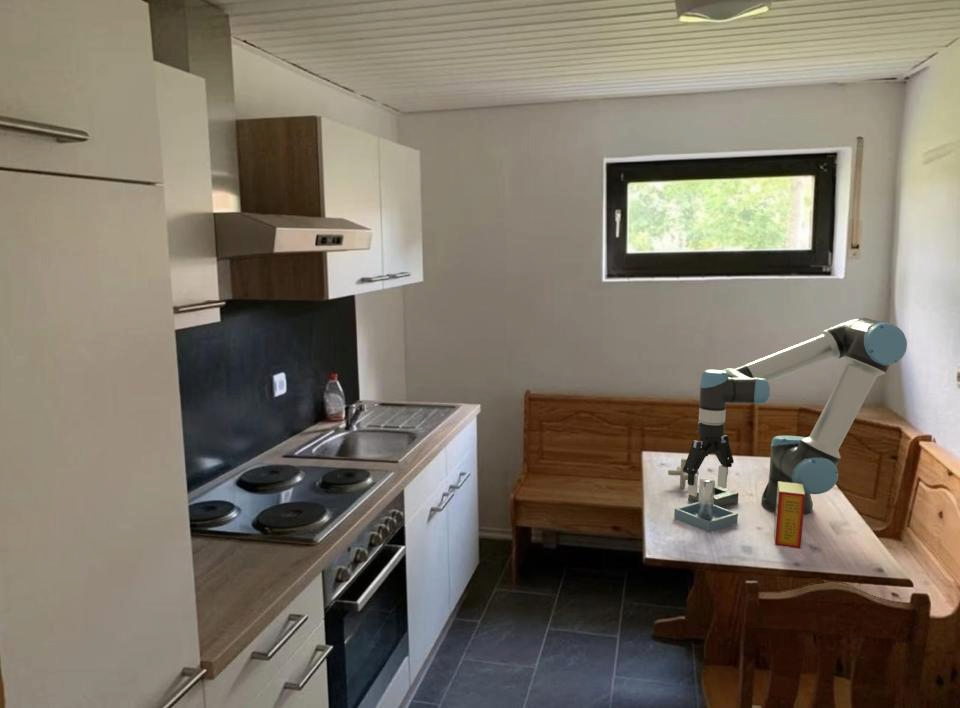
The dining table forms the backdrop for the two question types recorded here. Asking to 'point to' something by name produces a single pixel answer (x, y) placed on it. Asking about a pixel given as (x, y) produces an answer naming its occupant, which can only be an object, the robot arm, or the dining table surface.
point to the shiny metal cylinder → (706, 498)
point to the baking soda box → (789, 514)
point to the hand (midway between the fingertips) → (707, 491)
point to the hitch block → (720, 497)
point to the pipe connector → (681, 473)
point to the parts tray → (690, 517)
